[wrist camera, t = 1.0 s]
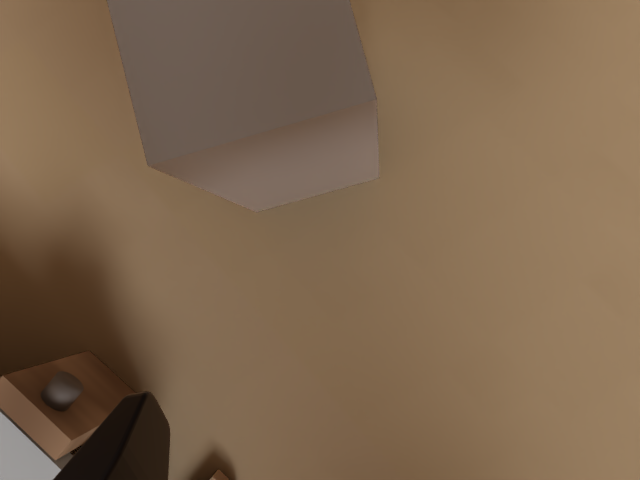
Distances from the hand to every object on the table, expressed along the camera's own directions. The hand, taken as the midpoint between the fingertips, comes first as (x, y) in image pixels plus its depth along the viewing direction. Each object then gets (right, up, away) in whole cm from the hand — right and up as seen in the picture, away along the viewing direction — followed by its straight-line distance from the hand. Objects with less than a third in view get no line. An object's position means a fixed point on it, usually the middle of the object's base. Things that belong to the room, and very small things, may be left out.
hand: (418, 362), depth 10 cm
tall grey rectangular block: (-2, +6, +14) cm, 15 cm away
